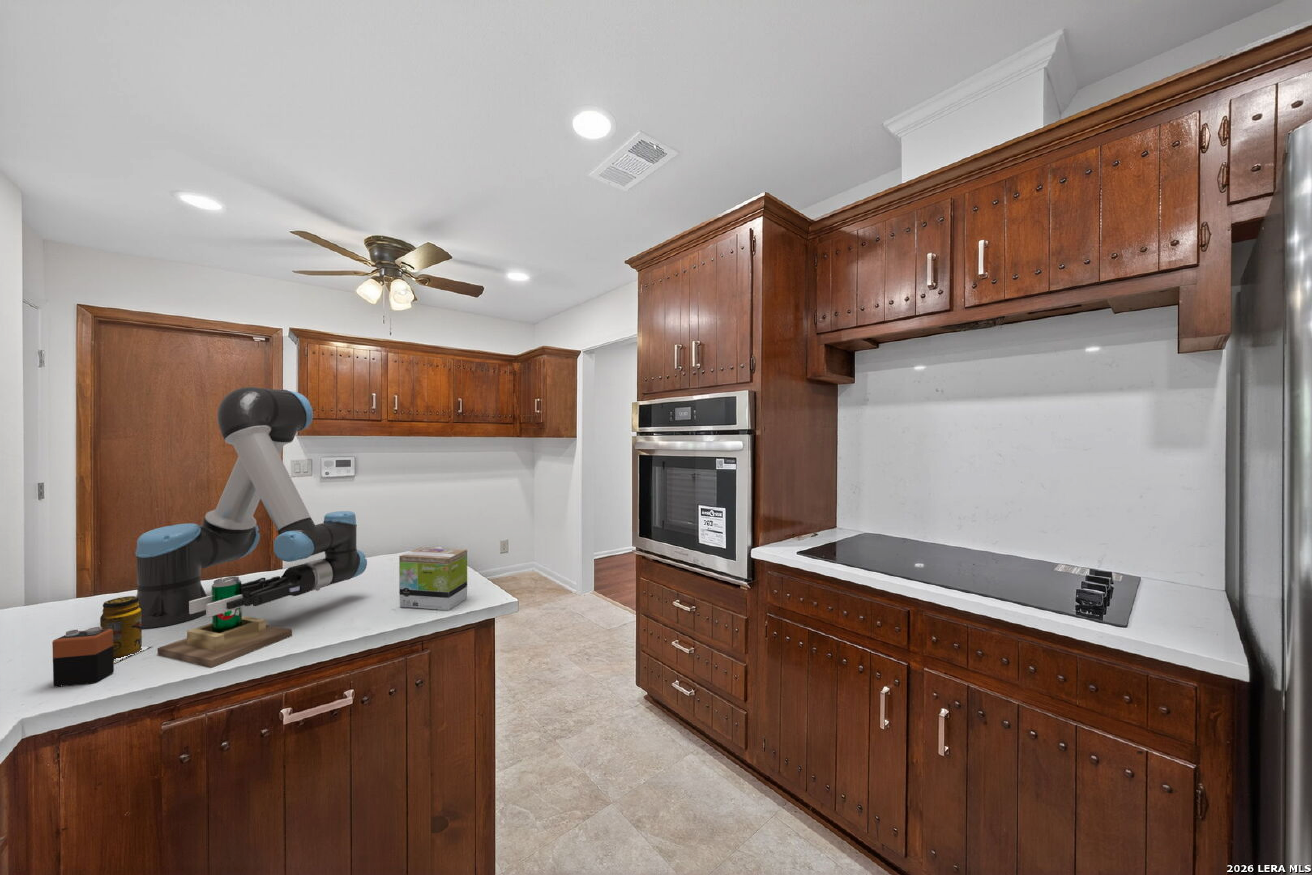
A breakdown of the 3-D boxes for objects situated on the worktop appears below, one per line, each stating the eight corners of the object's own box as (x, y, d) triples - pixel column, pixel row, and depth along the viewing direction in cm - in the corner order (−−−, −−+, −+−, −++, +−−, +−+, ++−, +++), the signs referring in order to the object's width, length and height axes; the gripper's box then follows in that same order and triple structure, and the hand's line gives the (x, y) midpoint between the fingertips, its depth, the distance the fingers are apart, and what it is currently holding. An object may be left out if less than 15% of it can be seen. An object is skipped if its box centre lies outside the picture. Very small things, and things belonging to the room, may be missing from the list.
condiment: (153, 646, 108) (152, 594, 108) (112, 665, 100) (111, 608, 100) (120, 647, 108) (119, 594, 108) (76, 665, 100) (75, 608, 100)
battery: (96, 683, 93) (94, 632, 93) (51, 688, 91) (50, 635, 91) (115, 672, 97) (114, 623, 97) (73, 676, 95) (72, 626, 95)
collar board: (157, 654, 104) (157, 634, 104) (241, 626, 120) (240, 608, 120) (211, 667, 99) (211, 645, 99) (292, 635, 114) (291, 617, 114)
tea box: (398, 608, 131) (397, 555, 131) (421, 596, 141) (420, 546, 141) (449, 611, 129) (448, 556, 129) (468, 598, 139) (468, 547, 139)
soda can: (224, 627, 111) (223, 576, 111) (247, 626, 112) (246, 575, 112) (206, 636, 106) (205, 583, 106) (230, 635, 107) (229, 582, 107)
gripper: (332, 595, 123) (226, 631, 101) (282, 588, 129) (172, 621, 107) (331, 566, 123) (225, 596, 101) (282, 560, 129) (172, 587, 107)
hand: (198, 609), depth 104 cm, fingers closed on soda can, 5 cm apart
